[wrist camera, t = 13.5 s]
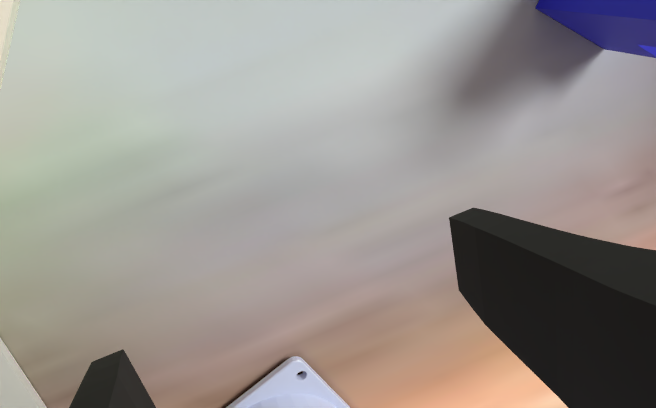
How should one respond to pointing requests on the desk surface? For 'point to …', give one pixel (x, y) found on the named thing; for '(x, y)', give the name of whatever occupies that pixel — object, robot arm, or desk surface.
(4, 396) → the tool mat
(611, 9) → the cable clip
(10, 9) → the tile
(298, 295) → the desk surface
